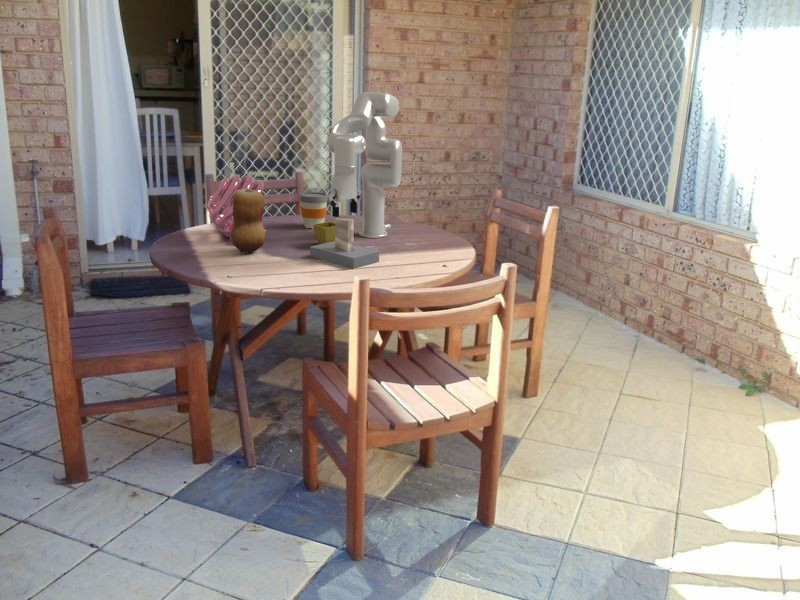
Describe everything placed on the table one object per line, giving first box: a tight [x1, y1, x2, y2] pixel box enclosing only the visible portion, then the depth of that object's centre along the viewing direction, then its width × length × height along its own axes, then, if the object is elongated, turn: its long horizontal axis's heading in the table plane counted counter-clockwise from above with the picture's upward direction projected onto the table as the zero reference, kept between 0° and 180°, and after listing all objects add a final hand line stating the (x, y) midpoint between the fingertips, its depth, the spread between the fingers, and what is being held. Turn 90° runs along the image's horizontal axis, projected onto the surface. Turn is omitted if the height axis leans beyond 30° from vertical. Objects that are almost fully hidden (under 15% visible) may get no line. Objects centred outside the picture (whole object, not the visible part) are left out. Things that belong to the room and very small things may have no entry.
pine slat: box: [334, 216, 355, 252], centre depth 285 cm, size 3×7×16 cm, turn 49°
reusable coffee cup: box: [299, 191, 328, 230], centre depth 337 cm, size 13×12×15 cm
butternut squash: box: [229, 188, 266, 253], centre depth 290 cm, size 14×13×25 cm
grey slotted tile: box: [309, 241, 380, 269], centre depth 287 cm, size 14×24×4 cm, turn 49°
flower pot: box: [313, 221, 335, 245], centre depth 305 cm, size 9×9×9 cm
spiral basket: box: [207, 173, 267, 238], centre depth 314 cm, size 28×28×27 cm
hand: (344, 214), depth 282 cm, fingers open, 9 cm apart
